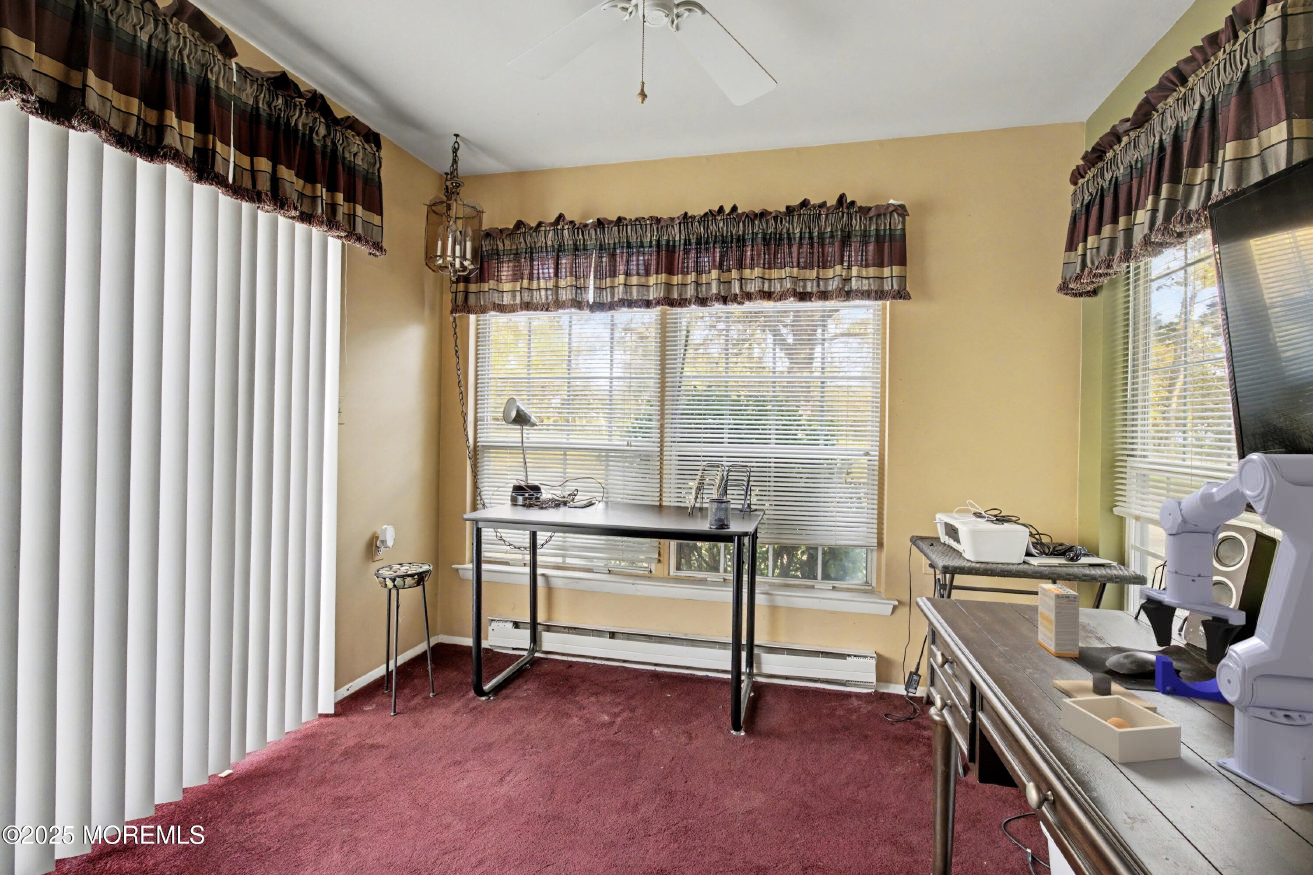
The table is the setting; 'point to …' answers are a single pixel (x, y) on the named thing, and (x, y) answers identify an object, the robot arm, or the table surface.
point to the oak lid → (1099, 689)
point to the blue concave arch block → (1184, 683)
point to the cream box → (1132, 744)
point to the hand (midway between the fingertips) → (1188, 654)
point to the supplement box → (1058, 620)
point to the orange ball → (1118, 723)
